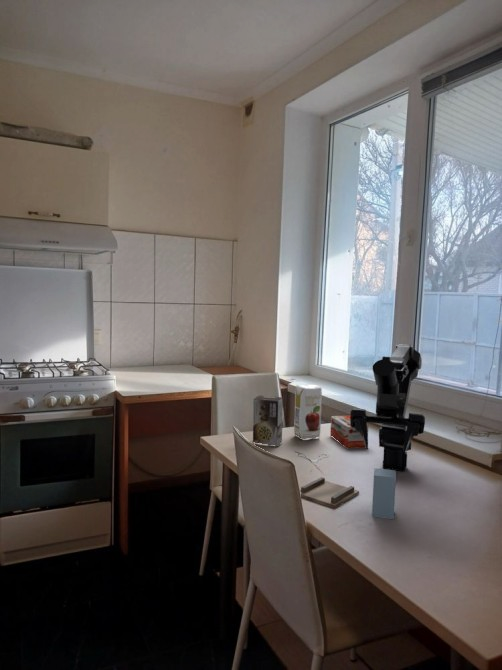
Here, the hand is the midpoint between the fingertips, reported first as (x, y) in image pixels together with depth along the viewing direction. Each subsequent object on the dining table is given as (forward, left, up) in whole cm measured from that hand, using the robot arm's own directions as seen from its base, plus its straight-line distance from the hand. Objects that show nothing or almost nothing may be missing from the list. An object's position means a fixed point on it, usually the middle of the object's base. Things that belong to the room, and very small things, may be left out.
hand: (385, 449), depth 128 cm
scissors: (-21, +23, -14) cm, 34 cm away
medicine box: (-12, +49, -14) cm, 53 cm away
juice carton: (-27, +49, -13) cm, 58 cm away
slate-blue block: (0, -8, -13) cm, 15 cm away
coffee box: (-39, +37, -13) cm, 56 cm away
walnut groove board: (-14, -1, -13) cm, 19 cm away
